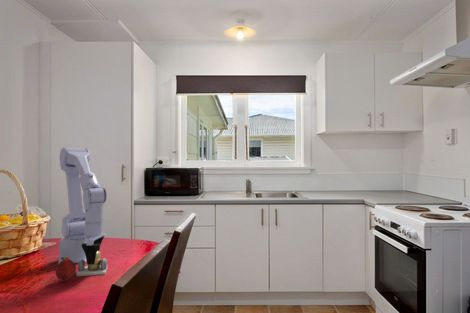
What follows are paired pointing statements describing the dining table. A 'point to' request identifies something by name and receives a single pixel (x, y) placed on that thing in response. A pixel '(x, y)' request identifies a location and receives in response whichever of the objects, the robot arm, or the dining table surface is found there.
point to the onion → (65, 269)
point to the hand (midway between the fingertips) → (92, 260)
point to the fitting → (84, 271)
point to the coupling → (97, 263)
